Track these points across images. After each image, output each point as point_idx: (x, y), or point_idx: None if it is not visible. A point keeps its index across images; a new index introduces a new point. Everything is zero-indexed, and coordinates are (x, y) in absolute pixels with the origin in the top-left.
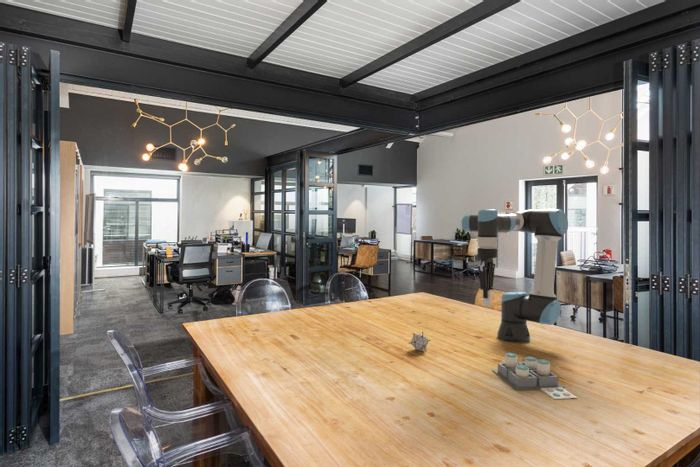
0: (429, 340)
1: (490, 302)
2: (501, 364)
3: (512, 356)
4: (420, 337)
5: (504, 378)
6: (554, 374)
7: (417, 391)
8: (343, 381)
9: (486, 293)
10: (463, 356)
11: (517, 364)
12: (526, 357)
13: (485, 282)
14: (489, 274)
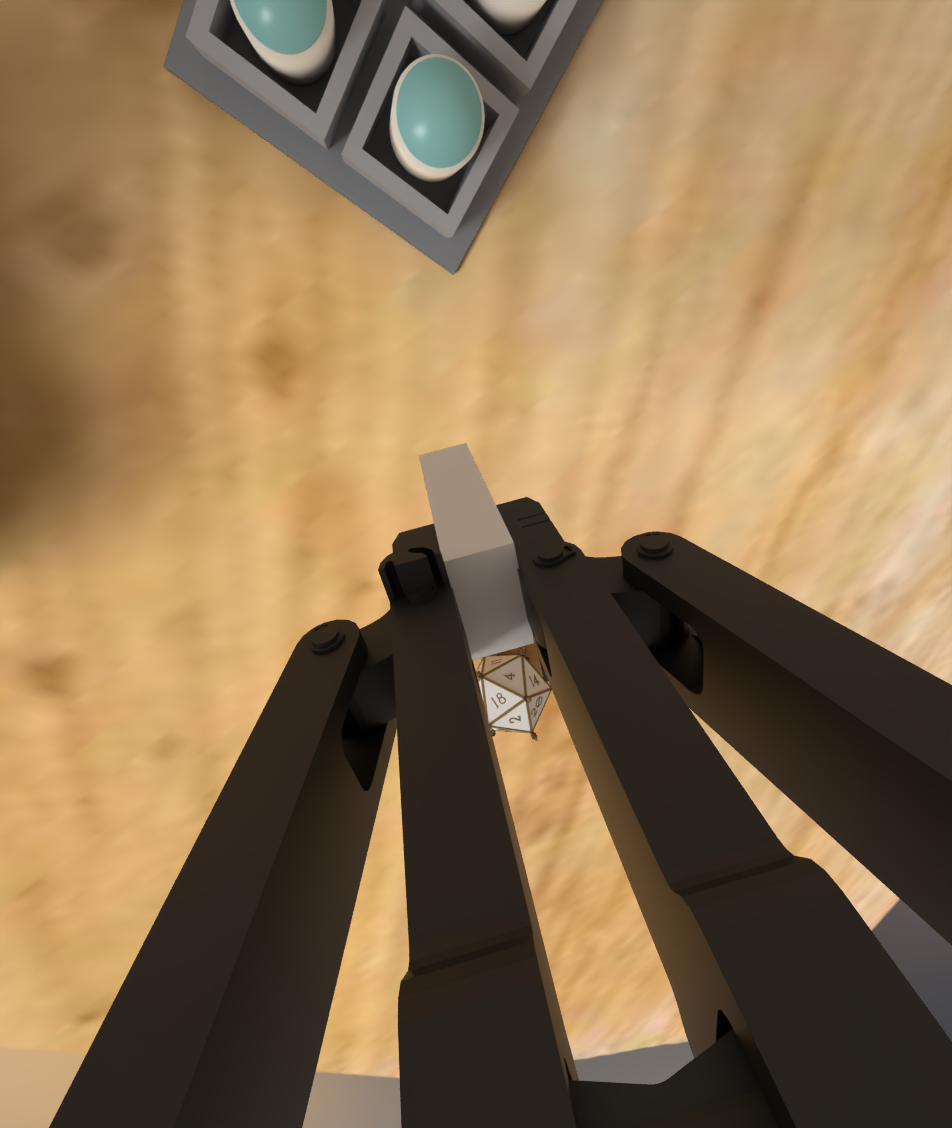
0: (480, 674)
1: (424, 471)
2: (459, 201)
3: (470, 78)
4: (533, 696)
5: (521, 129)
6: None
7: (909, 348)
8: (944, 571)
9: (558, 532)
10: (394, 514)
11: (364, 112)
12: (293, 41)
13: (796, 612)
14: (521, 893)
